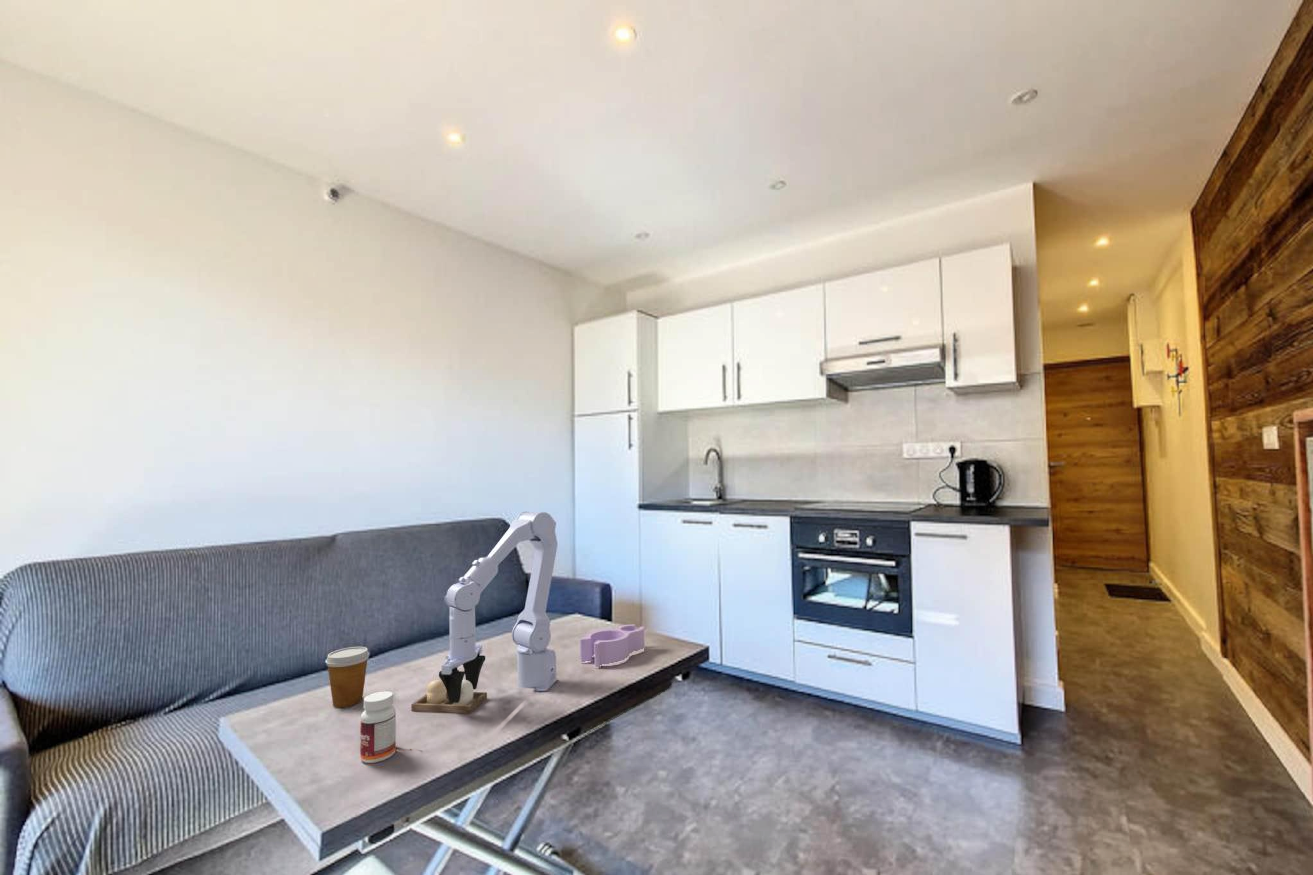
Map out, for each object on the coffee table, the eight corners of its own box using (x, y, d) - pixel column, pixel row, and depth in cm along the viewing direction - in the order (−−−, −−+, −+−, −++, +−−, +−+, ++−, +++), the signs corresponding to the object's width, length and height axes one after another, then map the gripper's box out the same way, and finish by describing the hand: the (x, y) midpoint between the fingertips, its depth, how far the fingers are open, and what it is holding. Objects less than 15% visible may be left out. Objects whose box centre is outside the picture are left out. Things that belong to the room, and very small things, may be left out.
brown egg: (449, 700, 129) (449, 677, 130) (439, 708, 125) (439, 683, 126) (433, 700, 130) (433, 676, 130) (423, 707, 126) (423, 683, 126)
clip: (626, 644, 170) (625, 622, 171) (654, 652, 162) (653, 628, 162) (574, 662, 156) (573, 637, 157) (602, 671, 147) (601, 645, 148)
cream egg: (460, 700, 129) (459, 676, 129) (476, 701, 128) (476, 677, 129) (449, 708, 125) (449, 683, 125) (466, 709, 124) (466, 684, 124)
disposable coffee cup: (378, 697, 135) (378, 648, 136) (342, 713, 127) (342, 660, 127) (352, 692, 139) (352, 644, 140) (316, 707, 131) (316, 656, 131)
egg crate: (487, 701, 130) (486, 692, 130) (469, 716, 122) (469, 706, 122) (431, 699, 132) (431, 690, 132) (411, 714, 124) (411, 704, 124)
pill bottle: (355, 757, 105) (355, 697, 106) (387, 744, 110) (387, 687, 111) (368, 767, 101) (368, 705, 102) (401, 754, 106) (401, 694, 107)
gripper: (463, 626, 135) (464, 682, 134) (428, 645, 121) (429, 707, 120) (489, 627, 134) (490, 683, 133) (457, 645, 120) (458, 708, 119)
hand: (463, 695), depth 127 cm, fingers open, 7 cm apart
